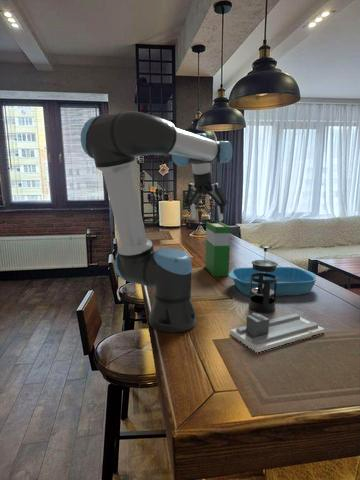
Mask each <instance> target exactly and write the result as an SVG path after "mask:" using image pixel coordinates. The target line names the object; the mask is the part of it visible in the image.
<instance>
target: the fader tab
mask: <svg viewBox="0 0 360 480" xmlns="http://www.w3.org/2000/svg"><path fill="white" fill-rule="evenodd" d="M269 320H270V318H268V317H266V316H264V315H263V314H262V313H258V312H252V313H251V314H249V315H246V325H245V326H246V332H247V333H248V334H250V335H251V336H253V337H254V338H255V337H258V336H262V335H266V334H268V330H269Z"/></svg>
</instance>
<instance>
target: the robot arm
mask: <svg viewBox="0 0 360 480" xmlns="http://www.w3.org/2000/svg"><path fill="white" fill-rule="evenodd" d="M80 143H81V147H82V150H83V151H84V153H85V154H86V155H87V157H89V158H91V159H93V161H94V165H95V168H96V169H97V170H99V171H101V172H102V176H103V179H104V183H105V188H106V190H107V191H106V192H107V194H108V199H109V203H110V206H111V210H112V211H111V212H112V214H113V217H114V223H115V226H116V230H117V235H118V238H119V239H118V240H119V242H120V245H119V246H118V247H117V252H116V254H115V257H114V258H115V259H114V261H113V262H114V263H113V265H114V266H113V267H114V270H115V272H116V275H117V276H118V277H119V278H120V279H121V280H124V281H126V282H128V283H131V284H137V285H141V286H145V287H149V288H153V291H154V293H153V294H154V297H153V298H154V300H153V303H152V306H151V308H150V312H149V315H148V324H149V326H150V327H151V328H152V329H154V330H156V331H159V332H163V333H182V332H183V333H184V332H187V331H189V330H191V329H192V328H194V327H195V325H197V316H196V315H197V314H196V312H195V308H194V306H193V303H192V272H193V267H192V259H191V258H192V257H191V256H190V254H189V253H187V252H186V251H184V250H182V249H177V248H169V247H163V248H158V249H155V250H154V244H153V241H152V240H151V239H148V237H147V234H146V229H145V224H144V220H143V215H142V210H141V206H140V201H139V197H138V192H137V187H136V183H135V182H136V181H135V177H134V171H133V167H132V166H133V164H134V163H135V162H136V157H142V156H150V155H158V156H167V155H169V154H171V160H172V161H173V163H174V164H175V165H176V166H178V167H184V166H187V165H190V164H191V168H192V173H193V175H192V177H193V182H190V183H188V185H187V187H188V188H187V189H188V190H187V191H186V195H185V198H184V204H185V205H187V206H188V209H189V212H190V213H191V214H190V215H191V216H190V217H191V219H192V220H195V219H196V218H197V213H196V212H197V211H196V205H195V203H194V202H195V201H196V199H197V197H198V196H199V194H200V195H208V196H210V197H211V198H212V200H213V201H214V202H215V203H216V204H217V214H218V221H219V222H222V221H223V220H224V214H225V206H226V205H228V203H229V202H228V200H227V198H226V196H225V194H224V193H223V191H222V190H221V187H220V183H219V182H216V183H213V181H212V171H211V164H223V163H229V162H230V161H231V160H232V158H233V146H232V143H231V141H228V140H219V141H217V140H214V139H210V138H208V137H207V134H206V133H203V132H201V133H194V132H191V131H187V130H184V129H181V128H178V127H176V126H175V124H174V123H173V122H171V120H167V119H165V118H163V117H159V116H155V115H152V114H149V113H147V112H146V113H145V112H142V111H136V110H127V111H123V112H122V111H121V112H114V113H108V114H100V115H96V116H93V117H91V118H88V119H87V120H86V122H85V123H84V124H83V127H82V129H81V132H80ZM194 188H195V192H194V194H193V195H192V193H193V190H194Z"/></svg>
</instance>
